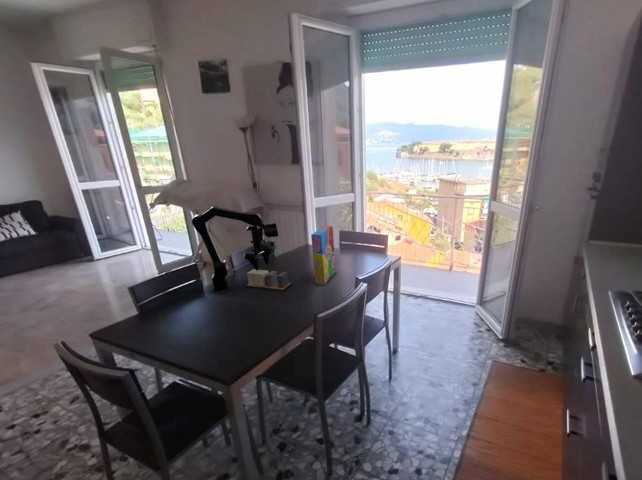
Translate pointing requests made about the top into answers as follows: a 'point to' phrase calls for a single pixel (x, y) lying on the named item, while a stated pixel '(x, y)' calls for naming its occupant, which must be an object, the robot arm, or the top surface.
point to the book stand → (267, 286)
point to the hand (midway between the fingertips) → (262, 267)
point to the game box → (323, 254)
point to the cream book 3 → (262, 277)
